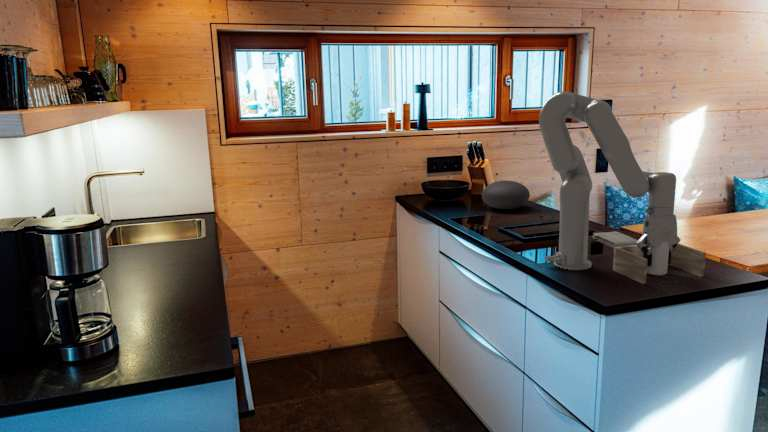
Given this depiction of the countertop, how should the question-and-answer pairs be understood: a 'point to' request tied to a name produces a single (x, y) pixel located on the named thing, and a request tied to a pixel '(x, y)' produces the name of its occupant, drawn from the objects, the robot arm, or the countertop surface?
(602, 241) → the washcloth
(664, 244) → the can
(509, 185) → the flattened ellipsoid
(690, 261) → the wooden u-shaped stand
